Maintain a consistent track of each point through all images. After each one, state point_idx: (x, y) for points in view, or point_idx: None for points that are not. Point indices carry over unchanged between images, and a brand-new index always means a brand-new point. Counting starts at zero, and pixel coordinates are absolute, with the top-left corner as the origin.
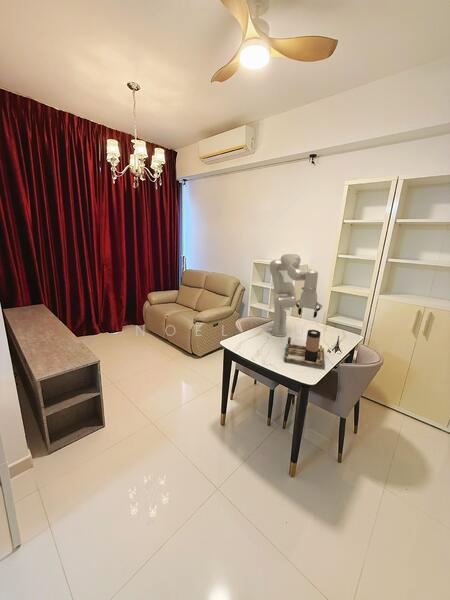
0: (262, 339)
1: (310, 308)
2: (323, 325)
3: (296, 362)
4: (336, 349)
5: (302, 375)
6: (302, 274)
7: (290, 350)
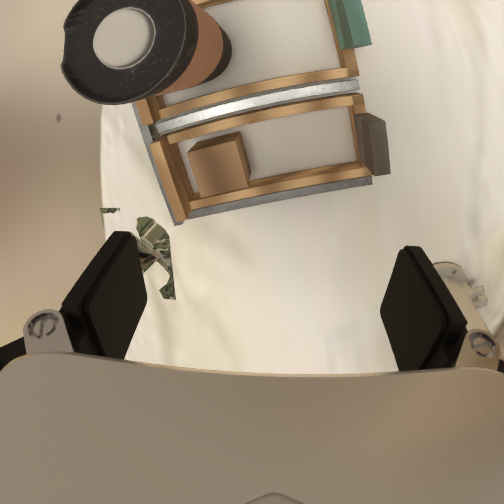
0: (494, 190)
1: (124, 360)
2: None
3: None
4: None
5: None
6: None
7: (335, 77)
